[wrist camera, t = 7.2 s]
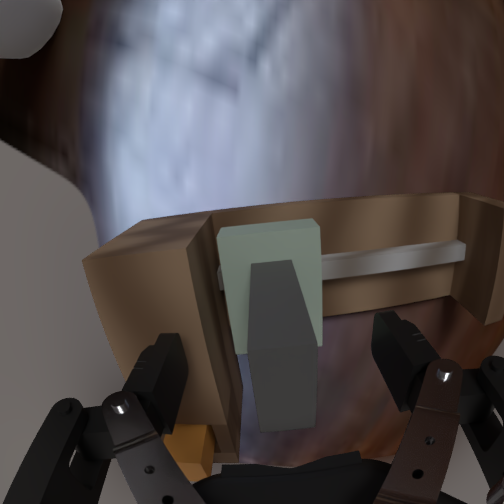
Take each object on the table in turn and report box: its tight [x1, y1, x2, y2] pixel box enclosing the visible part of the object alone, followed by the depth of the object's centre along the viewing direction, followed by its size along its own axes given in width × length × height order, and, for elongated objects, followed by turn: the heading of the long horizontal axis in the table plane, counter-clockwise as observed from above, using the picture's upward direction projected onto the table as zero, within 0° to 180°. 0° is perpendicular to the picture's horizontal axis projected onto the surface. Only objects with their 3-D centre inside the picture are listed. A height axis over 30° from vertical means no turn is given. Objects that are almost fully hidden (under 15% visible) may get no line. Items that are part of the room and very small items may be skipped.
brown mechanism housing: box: [82, 192, 504, 463], centre depth 17 cm, size 24×15×8 cm, turn 96°
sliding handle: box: [216, 218, 322, 433], centre depth 14 cm, size 5×7×11 cm
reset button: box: [163, 424, 216, 482], centre depth 15 cm, size 2×2×4 cm
